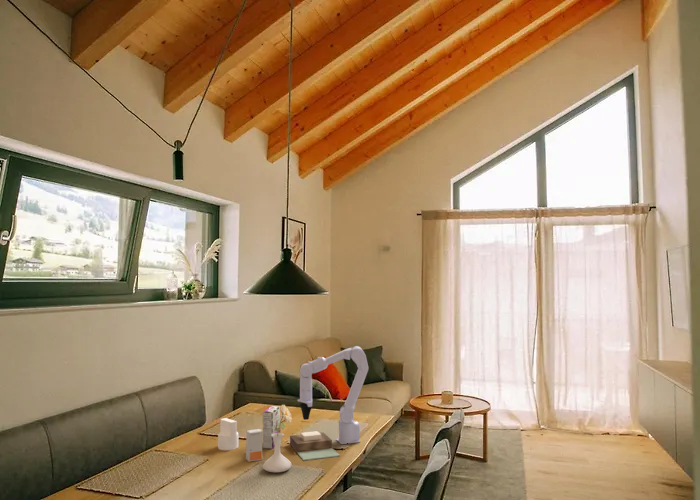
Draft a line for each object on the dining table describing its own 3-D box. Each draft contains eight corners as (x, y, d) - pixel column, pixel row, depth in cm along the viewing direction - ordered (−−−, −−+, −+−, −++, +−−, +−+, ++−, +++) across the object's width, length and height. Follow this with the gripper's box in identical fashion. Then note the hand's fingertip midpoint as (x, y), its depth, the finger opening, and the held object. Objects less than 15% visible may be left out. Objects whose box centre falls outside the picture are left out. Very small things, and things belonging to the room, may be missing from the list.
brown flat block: (323, 440, 248) (323, 432, 249) (332, 449, 236) (332, 440, 237) (289, 444, 243) (290, 435, 243) (297, 453, 231) (297, 443, 231)
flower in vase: (279, 477, 203) (279, 410, 204) (256, 471, 209) (257, 407, 210) (299, 467, 214) (300, 404, 215) (278, 462, 220) (278, 400, 221)
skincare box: (248, 462, 219) (249, 432, 220) (245, 459, 223) (246, 430, 224) (262, 460, 222) (263, 431, 223) (259, 457, 226) (259, 428, 227)
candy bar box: (270, 441, 248) (270, 405, 249) (280, 441, 247) (281, 406, 248) (262, 448, 237) (262, 411, 238) (272, 449, 236) (272, 411, 237)
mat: (332, 449, 236) (332, 448, 236) (339, 456, 227) (339, 455, 227) (297, 453, 230) (297, 452, 231) (303, 460, 221) (303, 459, 221)
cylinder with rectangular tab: (242, 447, 240) (242, 420, 241) (225, 451, 233) (225, 424, 234) (230, 442, 246) (231, 416, 247) (214, 447, 239) (214, 420, 240)
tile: (317, 435, 244) (317, 431, 244) (321, 439, 238) (321, 434, 238) (300, 437, 241) (300, 432, 241) (304, 441, 235) (304, 436, 235)
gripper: (293, 387, 254) (293, 416, 253) (301, 393, 240) (301, 423, 240) (308, 386, 256) (307, 414, 256) (316, 392, 243) (316, 422, 242)
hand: (305, 419), depth 248 cm, fingers closed
